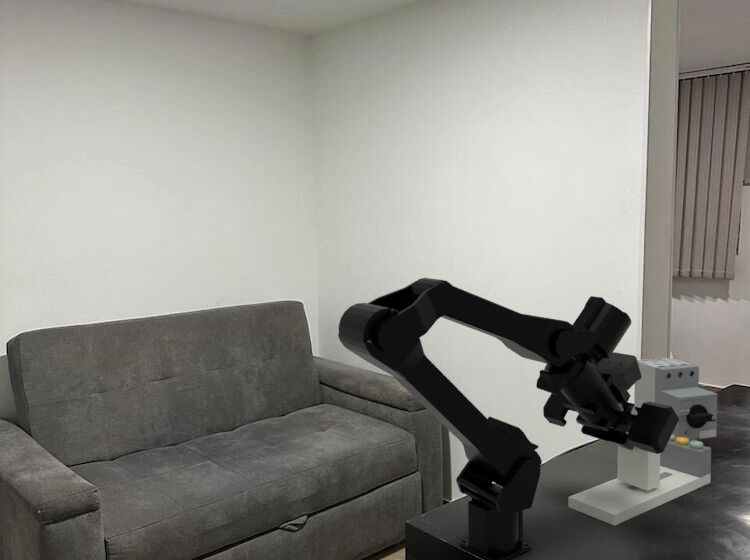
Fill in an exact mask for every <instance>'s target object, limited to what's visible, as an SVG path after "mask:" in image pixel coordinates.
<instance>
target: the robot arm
mask: <svg viewBox="0 0 750 560" xmlns="http://www.w3.org/2000/svg"><path fill="white" fill-rule="evenodd" d="M440 318H441V319H442V318H443V319H445V320H448V321H450V322H453V323H456V324H459V325H461V326H464V327H467V328H470V329H471V330H475V331H477V332H480V333H482V334H485V335H488V336H490V337H493V338H495V339H497V340H498V341H500V342H501V343H502V344H503V345H504V346H505V347H506V348H507V349H508V350H510V351H512V353H513V352H514V353H515V354H516V355H518V356H519V357H522V358H524V359H526V360H531V361H535V362H540V363H543V364H545V366H544V369H540V371H539V376H538V378H537V380H536V384H535V385H536V389H538V390H541V391H544V392H546V393H550V395H549V396H548V399H547V400H546V401H545V404H544V406H543V414H542V415H543V417H544V418H545V420H547V422H548V423H549V424H552V425H556V426H560V427H563V428H564V427H565V426H566V424H567V423H568V422H567V420H566V419H565V417H566V416H567V414H568V412H569V411H572V412H576V413H577V414H578V415H577V417H576V418H575V420H576V423H577V424H578V425H579V424H580V425H581V426H582V427H581V429H580V432H581V433H582V434H583V435H586V436H589V437H592V438H594V439H598V440H600V441H604V442H606V443H610V444H612V445H614V446H617V447H618V446H620V447H622V448H625V449H628V450H633V448H634V446H636V447H637V448H639V449H641V450H645V451H648V452H652V453H655V454H659V453H661V452H663V451H664V449H665V447H666V445H667V443H668V441H669V439H670V437H671V435H672V433H673V431H674V429H675V427H676V425H677V423H678V421H679V417H678V415H677V413H676V412H675V411H674V409H673V408H672V406H667V405H663V404H658V403H654V402H649V401H648V402H645V403H643V404H642V406H641V408H639V407H635V404H634V403H632V402H629V400H630V398H631V394H630V393H629V391H628V390H630V389H631V388H632V387H633V386H635V384H634V383H635V382H636V381H637V380H640V379H641V378H642V375H641V371H640V368H639V365H638V361H637V360H638V359H637V358H638V357H637V356H635V355H632V354H626V353H620V352H615V350H616V348H617V346H618V345H619V343H620V342H621V341H622V339H623V338H624V335H625V334H626V332H627V331H628V330H629V328H630V327H631V325H632V319H631V317H630V316H629V314H628V313H627V312H626V311H623V310H621V309H620V308H618V307H617V306H615V305H613V304H611V303H609V302H607V301H606V300H605V299H604V298H603V297H600V296H592V295H591V296H590V297H588V299H587V301H586V303H585V304H584V307H583V309H582V310H581V312H580V313H579V315H578V316H577V318H576V319H575V321H574V322H573V323H570V322H568V321H566V320H562V319H555V318H551V317H550V318H549V317H544V316H538V315H537V316H536V315H531V314H525V313H520V312H518V311H515V310H513V309H512V308H508V307H505V306H503V305H501V304H498V303H496V302H493V301H491V300H489V299H486V298H483V297H481V296H479V295H476V294H474V293H472V292H470V291H466V290H464V289H462V288H459V287H457V286H454V285H453V284H452V283H450V282H449V281H448V280H444V279H437V278H429V277H421V278H419V279H417V280H414V281H413V282H412V283H410V284H408V285H406V286H404V287H403V288H400V289H397V290H394V291H392V292H388V293H386V294H383V295H380V296H378V297H377V298H374V299H373V300H371V301H369V302H360V303H355V304H353V305H351V306H349V307H348V308H347V309H345V311H344V312H343V314H342V316H341V317H340V320H339V323H338V334H337V335H338V336H337V337H338V339H339V341H340V343H341V345H343V347H344V348H345V349H346V350H348V351H350V352H351V353H353V354H355V355H356V356H357V357H359V358H361V359H362V360H364V361H365V362H367V363H369V364H370V365H372V366H374V367H375V368H377V369H380V370H381V371H383V372H385V373H387V374H389V375H390V376H392V377H393V378H394V379H395V380H396V381H397V382H398V383H399V384H400V385H401V386H402V387H404V388H405V390H407V392H408V393H409V394H410V395H411V396H413V397H414V398H415V399H416V400H417V402H419V403H420V404H421V405H422V406H423V407H424V408H426V410H427V411H428V412H429V413H431V414H432V415H433V417H435V419H437V420H438V422H440V423H441V424H442V426H444V427H445V428H446V429H447V430H448V431H449V432H450V433H451V434H452V435H453V436H454V437H455V438H456V439H458V441H459V442H460V443H461V444H462V446H463V450H464V454H465V457H466V459H467V460H468V461H467V463H466V464H465V465H464V467H463V469H461V471H460V473H459V474H458V475H457V477H456V479H455V481H456V485H457V487H458V490H459V492H460V493H461V494H463V495H466V496H467V497H469V498H471V500H468V502H467V520H468V521H467V524H468V525H467V529H468V530H467V531H468V532H467V533H468V534H467V536H468V537H466V538H464V539H461V540H460V541H459V546H461V547H462V548H464V549H465V550H468V551H469V552H471V553H473V554H475V555H477V556H479V558H482V559H484V560H509V559H512V558H514V557H516V556H519V555H521V554H523V553H525V552H528V551H530V550H531V548H532V545H531V544H530V543H529V542H526V541H524V540H523V538H524V537H523V536H524V533H523V532H524V531H523V530H524V528H523V527H524V525H523V524H524V522H523V520H524V518H523V517H524V513H523V512H524V511H525V510H529V509H531V508H532V506H533V503H534V499H535V495H536V491H537V487H538V484H539V480H540V477H541V465H542V463H543V461H542V457H541V455H540V454H539V453H538V452H537V449H539V445H538V444H535V443H533V442H531V441H530V440H529V438H528V437H527V436H526V434H525V432H524V431H523V430H522V429H521V428H520V427H519V426H515V425H513V424H510V423H507V422H506V421H502V420H500V419H498V418H495V417H493V416H488V418H487V416H485V415H484V413H482V412H481V411H480V410H479V408H478V407H476V406H475V405H474V403H472V401H470V399H469V398H468V397H466V395H465V394H464V393H463V392H462V391H461V390H460V389H459V388H457V386H456V385H455V384H454V383H453V382H452V381H451V380H450V379H449V377H447V376H446V375H445V374H444V373H443V372H442V371H441V370H440V369H439V368H438V367H437V366H436V365H435V364H434V363H433V362H432V361H431V360H430V359H429V358H428V357H427V356H426V354H425V352H424V348H423V345H422V340H421V337H423V336H425V335H426V334H427V333H428V332H429V330H430V329H431V328H432V326H434V325H435V323H436V322H437V321H438V320H439V319H440Z"/></svg>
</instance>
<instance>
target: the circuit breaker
mask: <svg viewBox="0 0 750 560" xmlns="http://www.w3.org/2000/svg"><path fill="white" fill-rule="evenodd" d="M637 361H638V365H639V368H640V371H641V375H642V378H641V379H640V380H637V381H636V382H635V383H634V394H633V395H634V396H633V397H634V400H633V401H634V403H633V404H635V407H639V408H641V406H642V404H643V403H645V402H648V401H649V402H654V403H658V404H663V405H667V406H672V408H673V409H674V411H675V412H676V413H677V415H678V417H679V421H678V423H677V425H676V427H675V429H674V431H673V433H672V434H674V435H675V438H676V437H686V438H688V439H689V442H690V441H692V440H696V441H698V440H704V439H712V438H713V439H714V438H717V425H718V424H717V423H718V421H717V419H718V393H716V392H713V391H710V390H707V389H706V388H705V389H704V388H702V387H700V386H699V383H700V382H699V380H700V379H699V378H700V376H699V375H700V366H699V365H697V364H693V363H690V362H685V361H682V360H678V359H675V358H670V357H658V358H657V357H656V358H652V359H650V358H647V359H646V358H645V359H637Z"/></svg>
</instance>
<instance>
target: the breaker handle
mask: <svg viewBox="0 0 750 560" xmlns="http://www.w3.org/2000/svg"><path fill="white" fill-rule="evenodd" d="M616 466H617V469H616V471H617V475H616V476H617V477H616V478H617V480H618V481H621V482H624V483H627V484H630V485H632V486H635V487H638V488H641V489H644V490H647V491H648V490H650V489H653V488H655V487H658V486H660V453H659V454H655V453H652V452H648V451H645V450H641V449H639V448H637V447H636V446H634V448H633V450H628V449H625V448H622V447H620V446H617V464H616Z"/></svg>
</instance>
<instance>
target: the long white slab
mask: <svg viewBox="0 0 750 560" xmlns="http://www.w3.org/2000/svg"><path fill="white" fill-rule="evenodd" d="M711 466H712V447H711V446H705V445H704V442H703V441H700V440H697V441H696V440H692V441H690V442H689V439H688V438H686V437H676V438H675V435H674V434H672V435H671V437H670V439H669V441H668V443H667V445H666V447H665V449H664V451H663V452H661V453H660V486H658V487H655V488H653V489H650V490H648V491H647V490H644V489H641V488H638V487H635V486H632V485H630V484H627V483H624V482H621V481H618V480H617V477H616V478H614V479H611V480H609V481H606V482H603V483H601V484H599V485H596V486H593V487H590V488H587V489H585V490H582V491H580V492H578V493H575V494H572V495H570V496H568V502H567V503H568V508H570V509H573V510H575V511H578V512H580V513H582V514H585V515H587V516H590V517H592V518H595V519H597V520H599V521H603V522H605V523H607V524H609V525H612V526H617V525H619V524H622V523H623V522H626V521H628V520H630V519H633V518H635V517H637V516H639V515H641V514H644V513H646V512H648V511H650V510H653V509H656V508H657V507H659V506H662V505H663V504H666V503H668V502H671V501H673V500H675V499H677V498H680V497H681V496H684V495H686V494H688V493H690V492H693V491H696V490H698V489H699V488H702V487H704V486H706V485H709V484H711V478H712V477H711V473H712V472H711V471H712V470H711V469H712V467H711Z"/></svg>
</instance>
